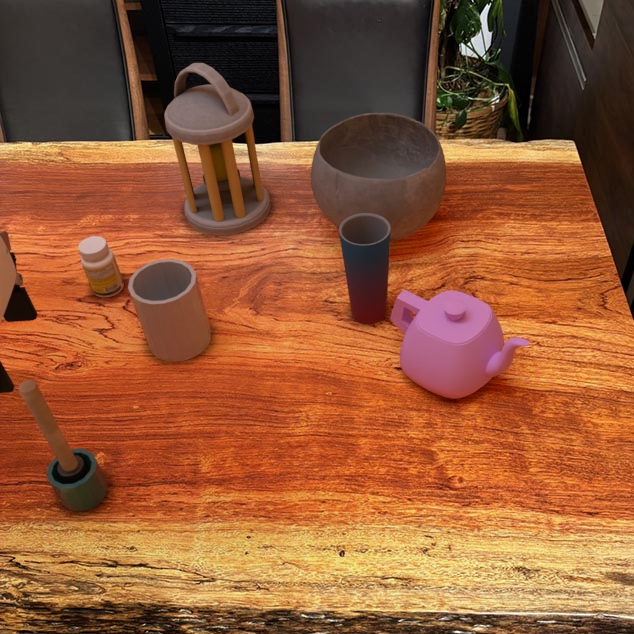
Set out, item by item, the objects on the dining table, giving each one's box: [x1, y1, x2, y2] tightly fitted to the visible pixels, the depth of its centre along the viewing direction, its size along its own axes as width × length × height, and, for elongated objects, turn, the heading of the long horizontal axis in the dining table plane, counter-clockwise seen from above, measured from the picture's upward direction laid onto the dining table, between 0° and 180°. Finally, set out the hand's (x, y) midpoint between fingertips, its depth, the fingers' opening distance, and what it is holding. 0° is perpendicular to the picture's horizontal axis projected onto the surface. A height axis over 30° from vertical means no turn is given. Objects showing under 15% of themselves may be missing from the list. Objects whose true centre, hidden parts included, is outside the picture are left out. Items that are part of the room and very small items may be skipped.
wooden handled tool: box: [17, 379, 89, 484], centre depth 89 cm, size 3×3×19 cm
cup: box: [338, 213, 391, 325], centre depth 110 cm, size 7×7×15 cm
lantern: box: [164, 62, 271, 236], centre depth 124 cm, size 14×14×25 cm
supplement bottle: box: [77, 235, 125, 298], centre depth 118 cm, size 5×5×8 cm
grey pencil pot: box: [127, 258, 212, 363], centre depth 110 cm, size 9×9×11 cm
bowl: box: [310, 112, 447, 243], centre depth 124 cm, size 20×20×15 cm
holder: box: [46, 447, 109, 513], centre depth 95 cm, size 6×6×5 cm
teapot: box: [389, 289, 531, 400], centre depth 104 cm, size 13×20×11 cm
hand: (10, 353), depth 78 cm, fingers open, 9 cm apart
